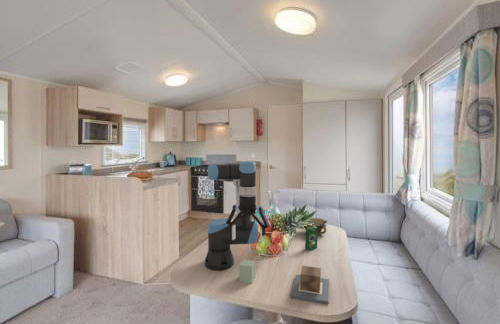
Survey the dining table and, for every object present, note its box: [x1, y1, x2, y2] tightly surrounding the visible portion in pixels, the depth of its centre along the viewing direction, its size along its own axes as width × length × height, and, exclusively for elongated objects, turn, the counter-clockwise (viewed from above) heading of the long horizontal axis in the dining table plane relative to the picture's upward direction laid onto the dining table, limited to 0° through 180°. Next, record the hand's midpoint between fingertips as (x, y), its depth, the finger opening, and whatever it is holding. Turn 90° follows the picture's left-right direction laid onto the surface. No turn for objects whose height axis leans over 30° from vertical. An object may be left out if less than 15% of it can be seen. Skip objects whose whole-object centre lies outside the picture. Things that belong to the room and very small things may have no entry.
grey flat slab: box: [290, 274, 330, 305], centre depth 116 cm, size 15×18×1 cm
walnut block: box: [300, 265, 322, 293], centre depth 116 cm, size 8×8×7 cm
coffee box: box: [304, 226, 318, 251], centre depth 161 cm, size 8×3×13 cm, turn 123°
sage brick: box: [238, 258, 256, 285], centre depth 124 cm, size 6×6×8 cm
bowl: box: [303, 216, 328, 235], centre depth 187 cm, size 18×18×10 cm
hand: (247, 240), depth 123 cm, fingers open, 13 cm apart
